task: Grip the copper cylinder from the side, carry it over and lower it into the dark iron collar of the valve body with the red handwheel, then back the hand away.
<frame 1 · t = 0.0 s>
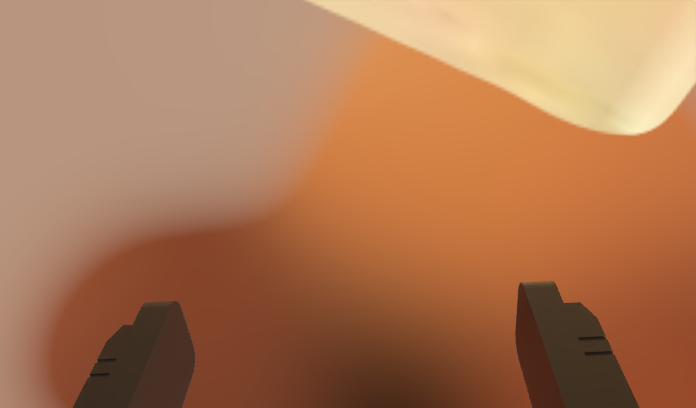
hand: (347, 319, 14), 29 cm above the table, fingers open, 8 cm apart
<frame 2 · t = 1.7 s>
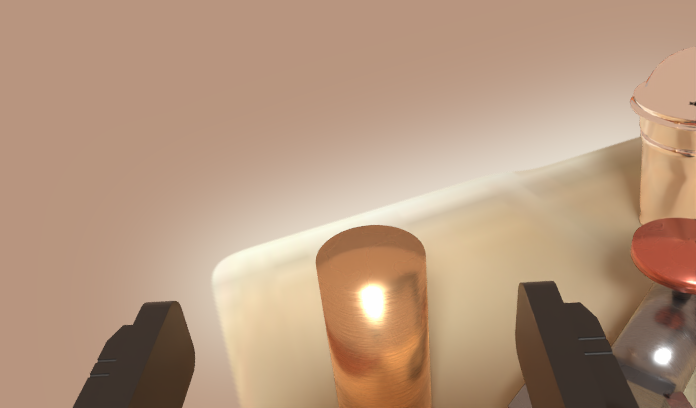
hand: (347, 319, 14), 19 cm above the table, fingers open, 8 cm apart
cup with straw: (669, 225, 47), on the table
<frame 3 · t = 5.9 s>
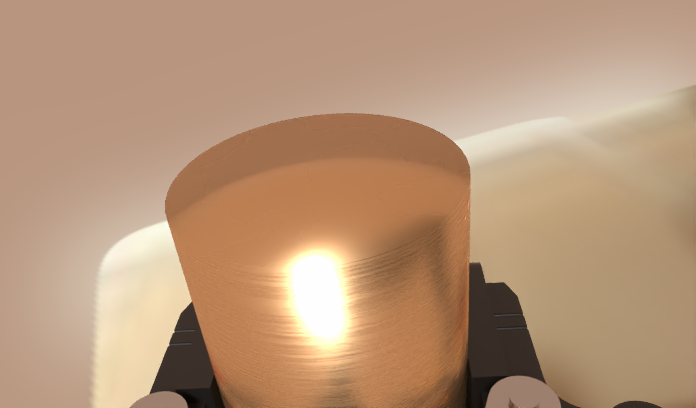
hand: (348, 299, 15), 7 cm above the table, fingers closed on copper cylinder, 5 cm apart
when the fingers open (8 cm above the table, at t = 11.3 s): copper cylinder drops 1 cm, on the table.
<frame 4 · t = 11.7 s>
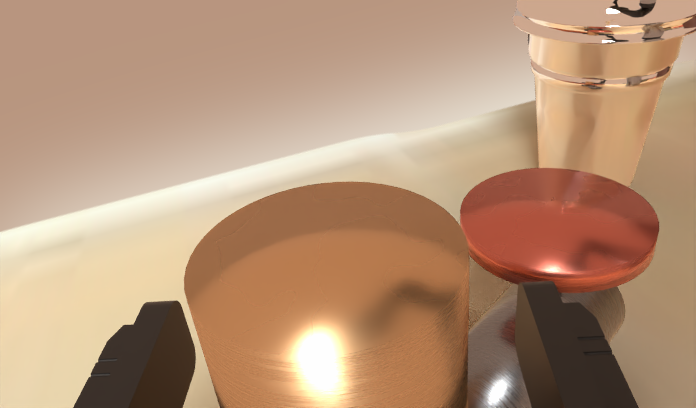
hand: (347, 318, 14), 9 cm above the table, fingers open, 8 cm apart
cup with straw: (580, 198, 33), on the table
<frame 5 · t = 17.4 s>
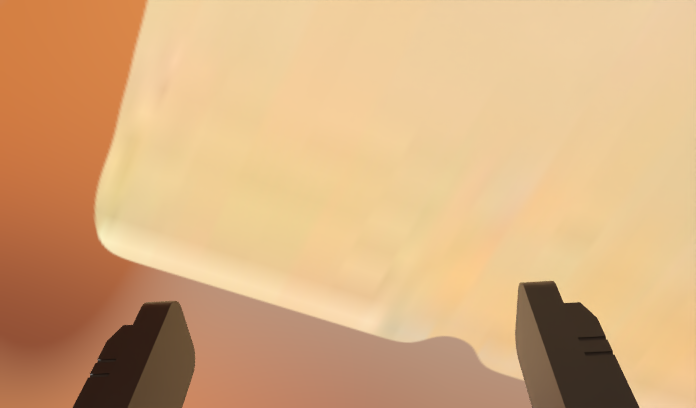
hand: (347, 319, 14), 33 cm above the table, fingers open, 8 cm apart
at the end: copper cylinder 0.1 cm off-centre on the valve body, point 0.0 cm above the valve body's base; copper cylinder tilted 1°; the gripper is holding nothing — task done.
